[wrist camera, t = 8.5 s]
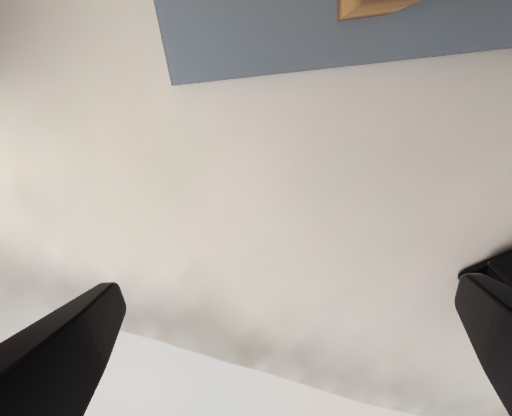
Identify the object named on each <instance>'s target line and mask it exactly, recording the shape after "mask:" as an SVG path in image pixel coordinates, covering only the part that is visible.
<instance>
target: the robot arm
mask: <svg viewBox="0 0 512 416" xmlns="http://www.w3.org/2000/svg"><path fill="white" fill-rule="evenodd" d="M458 279H459V284H458V288H457V292H456V296H455V307H456V310H457V312H458V314H459V317H460V319H461V321H462V323H463V326H464V328H465V330H466V332H467V334H468V337H469V339H470V341H471V343H472V346H473V348H474V350H475V352H476V355H477V357H478V359H479V361H480V363H481V365H482V367H483V369H484V371H485V373H486V375H487V377H488V379H489V380H490V382H491V384H492V386H493V387H494V389H495V391H496V393H497V394H498V396H499V398H500V400H501V401H502V403H503V405H504V407H505V408H506V410H507V412H508V414H509V415H510V416H512V250H511V251H508V252H506V253H504V254H501V255H499V256H497V257H494V258H492V259H490V260H487V261H485V262H482V263H480V264H478V265H475V266H473V267H471V268H468V269H466V270H464V271H462V272H460V273H459V274H458ZM125 313H126V304H125V301H124V298H123V295H122V293H121V290H120V287H119V285H118V284H117V283H114V282H109V283H100V284H98V285H97V286H95V287H93V288H92V289H90V290H88V291H87V292H85V293H83V294H82V295H80V296H78V297H77V298H75V299H73V300H72V301H70V302H68V303H67V304H65V305H63V306H62V307H60V308H58V309H57V310H55V311H53V312H52V313H50V314H48V315H47V316H45V317H43V318H41V319H40V320H38V321H36V322H35V323H33V324H31V325H30V326H28V327H27V328H25V329H23V330H21V331H20V332H18V333H16V334H15V335H13V336H11V337H10V338H8V339H6V340H5V341H3V342H1V343H0V416H83V415H84V413H85V411H86V409H87V407H88V405H89V402H90V401H91V398H92V396H93V394H94V392H95V390H96V388H97V386H98V383H99V381H100V379H101V377H102V375H103V373H104V370H105V368H106V365H107V363H108V361H109V358H110V355H111V352H112V350H113V347H114V344H115V341H116V338H117V336H118V333H119V330H120V327H121V324H122V322H123V319H124V316H125Z"/></svg>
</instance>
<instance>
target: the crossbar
mask: <svg viewBox="0 0 512 416" xmlns="http://www.w3.org/2000/svg"><path fill="white" fill-rule="evenodd" d="M419 1H422V0H337V21H344V20H352V19H359V18H367V17H375V16H383V15H389V14H392V13H394V12H396V11H399V10H401V9H403V8H406V7H408V6H410V5H413V4H415V3H417V2H419Z"/></svg>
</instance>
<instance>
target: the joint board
mask: <svg viewBox="0 0 512 416" xmlns="http://www.w3.org/2000/svg"><path fill="white" fill-rule="evenodd" d="M154 4H155V9H156V13H157V18H158V23H159V28H160V33H161V37H162V42H163V47H164V52H165V56H166V61H167V66H168V71H169V75H170V80H171V85H181V84H190V83H199V82H208V81H217V80H226V79H235V78H244V77H253V76H262V75H271V74H280V73H289V72H298V71H307V70H316V69H325V68H334V67H343V66H352V65H361V64H370V63H379V62H388V61H398V60H407V59H416V58H425V57H434V56H443V55H452V54H461V53H470V52H479V51H488V50H497V49H506V48H512V0H422V1H419V2H417V3H415V4H413V5H410V6H408V7H406V8H403V9H401V10H399V11H396V12H394V13H392V14H389V15H383V16H375V17H367V18H359V19H352V20H344V21H337V0H154Z"/></svg>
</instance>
